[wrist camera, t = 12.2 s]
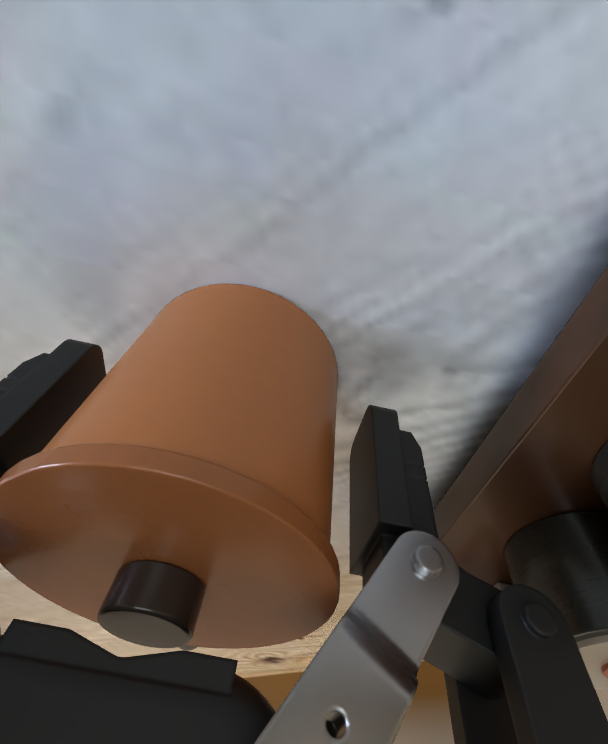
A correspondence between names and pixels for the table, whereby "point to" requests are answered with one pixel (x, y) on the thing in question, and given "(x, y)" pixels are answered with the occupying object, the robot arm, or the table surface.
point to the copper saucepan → (191, 482)
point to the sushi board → (546, 486)
